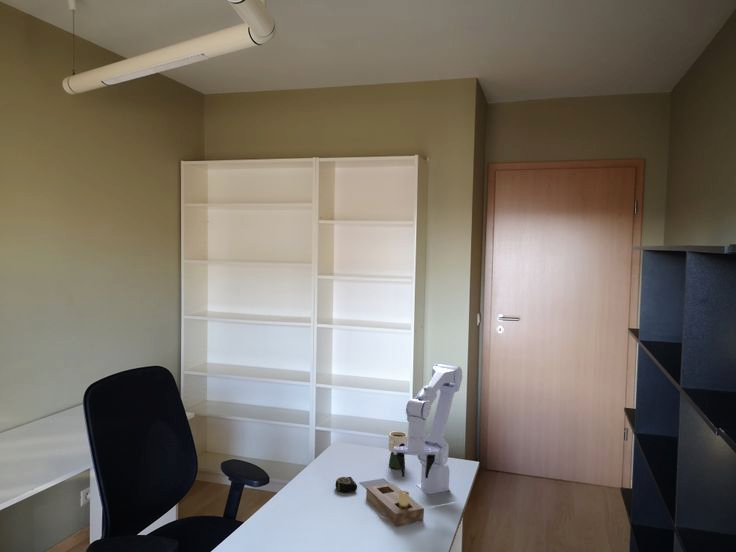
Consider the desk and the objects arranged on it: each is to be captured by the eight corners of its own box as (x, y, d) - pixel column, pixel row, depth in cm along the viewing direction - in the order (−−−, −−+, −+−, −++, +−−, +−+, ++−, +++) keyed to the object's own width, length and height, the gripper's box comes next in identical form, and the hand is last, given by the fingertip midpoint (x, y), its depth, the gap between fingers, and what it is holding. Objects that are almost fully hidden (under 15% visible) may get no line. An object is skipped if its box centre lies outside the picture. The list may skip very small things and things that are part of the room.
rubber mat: (383, 479, 210) (383, 478, 210) (397, 490, 201) (397, 489, 201) (358, 483, 206) (358, 482, 206) (371, 495, 197) (371, 494, 197)
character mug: (396, 474, 215) (398, 440, 214) (381, 469, 219) (382, 435, 218) (412, 465, 224) (413, 432, 223) (396, 460, 228) (398, 428, 227)
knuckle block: (392, 494, 198) (392, 482, 198) (423, 520, 180) (423, 508, 180) (366, 499, 194) (366, 487, 193) (395, 526, 176) (395, 513, 175)
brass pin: (403, 514, 184) (405, 490, 183) (409, 518, 181) (410, 493, 181) (396, 516, 182) (397, 492, 182) (401, 520, 180) (403, 495, 179)
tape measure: (357, 493, 198) (358, 483, 197) (338, 495, 196) (338, 485, 195) (351, 485, 204) (352, 475, 204) (333, 487, 202) (333, 476, 202)
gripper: (394, 438, 186) (392, 479, 187) (439, 441, 185) (437, 482, 186) (394, 431, 193) (392, 471, 194) (438, 434, 192) (436, 474, 193)
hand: (414, 476), depth 191 cm, fingers open, 7 cm apart
